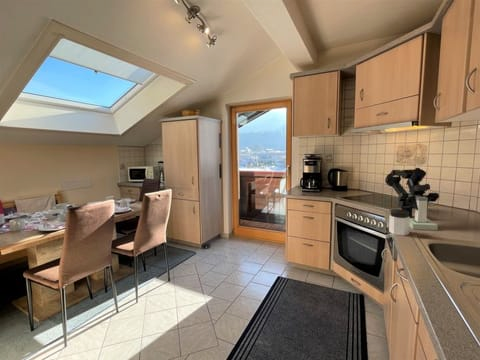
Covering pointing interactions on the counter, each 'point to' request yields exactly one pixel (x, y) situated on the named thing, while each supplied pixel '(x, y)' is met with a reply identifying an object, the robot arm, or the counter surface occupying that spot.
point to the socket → (422, 225)
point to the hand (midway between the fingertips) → (422, 210)
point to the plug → (421, 209)
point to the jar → (399, 222)
